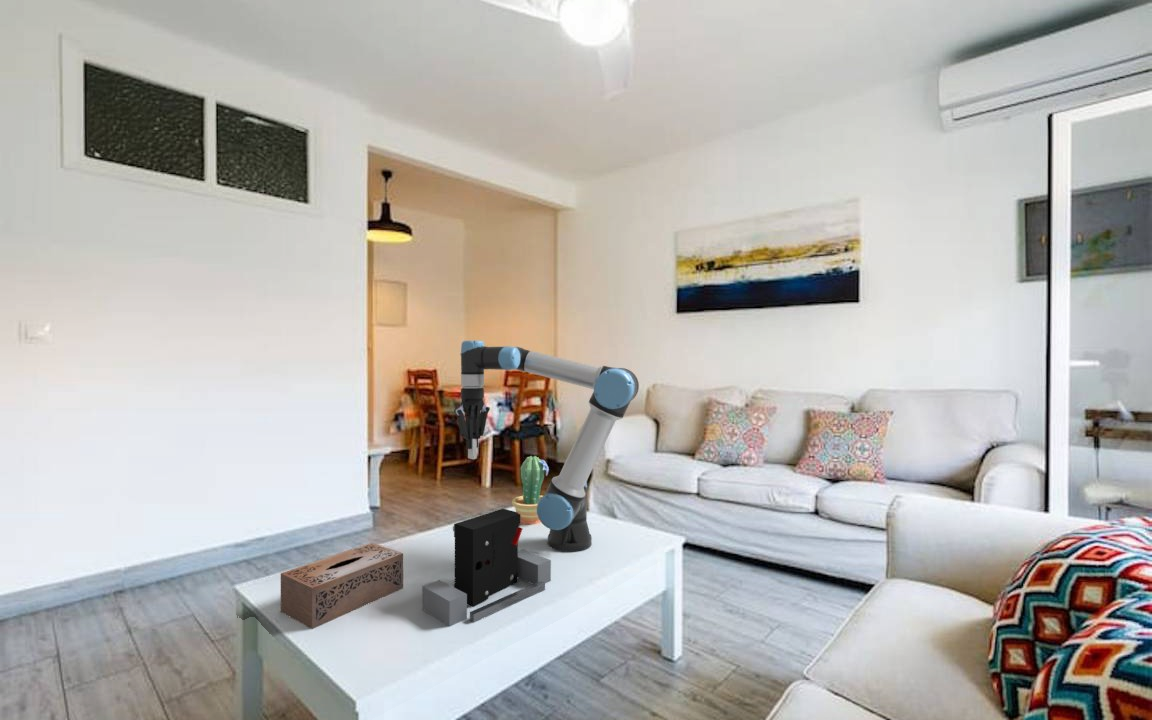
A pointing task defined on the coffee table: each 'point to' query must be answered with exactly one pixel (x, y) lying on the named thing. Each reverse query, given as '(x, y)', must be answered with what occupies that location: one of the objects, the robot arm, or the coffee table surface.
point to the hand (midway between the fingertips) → (472, 458)
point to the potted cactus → (530, 489)
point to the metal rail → (506, 601)
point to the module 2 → (533, 567)
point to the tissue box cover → (340, 583)
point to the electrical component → (486, 554)
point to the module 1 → (444, 602)
